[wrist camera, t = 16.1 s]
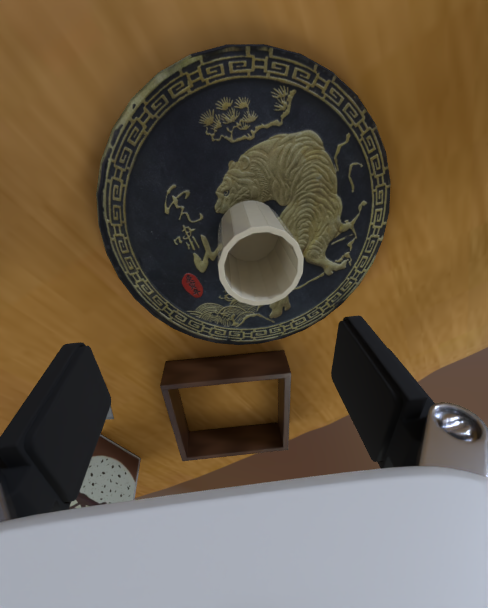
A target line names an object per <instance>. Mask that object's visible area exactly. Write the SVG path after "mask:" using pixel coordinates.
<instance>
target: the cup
mask: <svg viewBox="0 0 488 608" xmlns="http://www.w3.org/2000/svg"><path fill="white" fill-rule="evenodd" d="M303 261H304V258H303V254H302V252H301V249H300V247H299V244H298V242H297V241H296V239H295V238H294V237H293V235H292V234H291V233H290V231H289V230H288V228H287V227H286V226H285V224H284V223H283V221H282V220H281V219H280V217H279V216H278V214H277V213H276V212H275V211H274V210H273V209H272V208H271V207H269V206H268V205H266V204H264V203H262V202H259V201H253V200H250V201H243V202H240V203H237V204H235V205H234V206H232V207H231V208H230V209H228V210H227V212H226V213H225V214H224V215H223V217H222V219H221V221H220V224H219V229H218V270H219V279H220V281H221V283H222V285H223V286H224V288H225V290H226V292H227V293H228V294H230V295H231V296H232V297H234V298H235V299H236V300H238V301H239V302H242V303H246V304H250V305H255V306H257V305H268V304H272V303H274V302H277V301H279V300H281V299H283V298H285V297H286V296H287V295H288V294H289V293H290V292H291V291H292V290H293V289H294V288H296V286H297V284H298V282H299V280H300V278H301V276H302V274H303Z"/></svg>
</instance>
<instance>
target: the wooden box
mask: <svg viewBox="0 0 488 608" xmlns="http://www.w3.org/2000/svg"><path fill="white" fill-rule="evenodd" d="M269 379H278V423H270V424H260V425H251V426H241V427H232V428H222V429H213V430H203V431H194V432H189V430H188V426H187V422H186V418H185V414H184V410H183V406H182V402H181V398H180V394H179V390H178V389H179V388H189V387H199V386H209V385H219V384H229V383H239V382H249V381H259V380H269ZM160 387H161V390H162V394H163V397H164V400H165V404H166V407H167V411H168V414H169V417H170V421H171V424H172V428H173V431H174V434H175V438H176V441H177V445H178V448H179V451H180V455H181V458H182V461H189V460H198V459H207V458H216V457H226V456H235V455H244V454H253V453H263V452H272V451H281V450H288V439H289V413H290V387H291V371H290V368H289V365H288V361H287V358H286V355H285V351H284V350H281V351H271V352H260V353H250V354H239V355H229V356H218V357H208V358H198V359H187V360H177V361H166V363H165V367H164V371H163V376H162V380H161V385H160Z"/></svg>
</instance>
